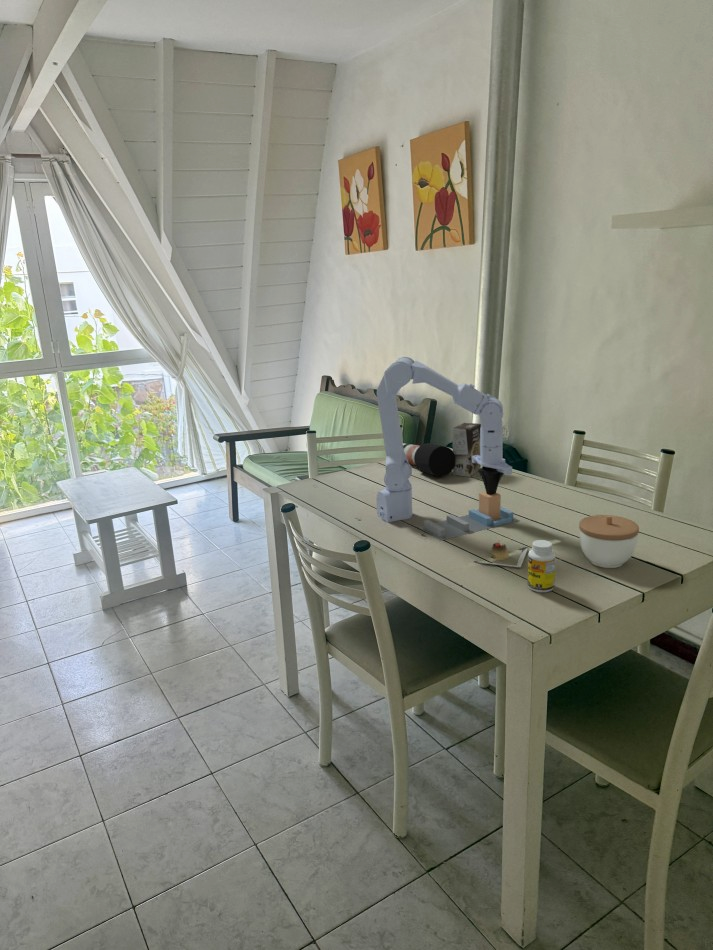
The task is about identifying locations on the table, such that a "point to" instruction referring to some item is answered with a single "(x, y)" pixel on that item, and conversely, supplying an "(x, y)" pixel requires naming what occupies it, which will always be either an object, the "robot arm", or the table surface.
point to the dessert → (504, 554)
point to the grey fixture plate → (466, 524)
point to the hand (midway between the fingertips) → (491, 494)
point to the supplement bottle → (541, 566)
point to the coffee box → (466, 448)
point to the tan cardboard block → (490, 505)
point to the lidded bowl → (608, 539)
